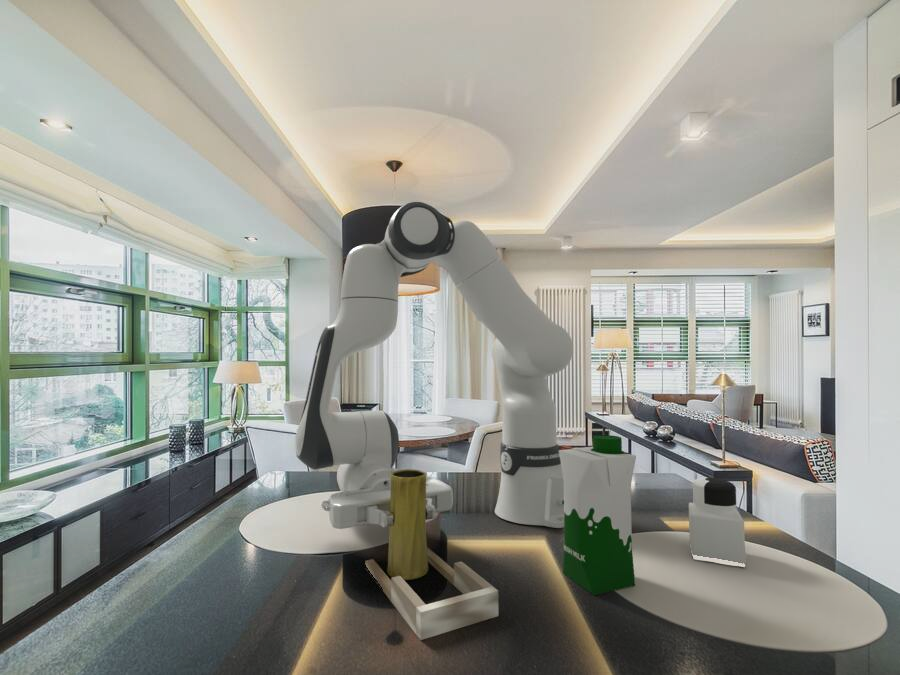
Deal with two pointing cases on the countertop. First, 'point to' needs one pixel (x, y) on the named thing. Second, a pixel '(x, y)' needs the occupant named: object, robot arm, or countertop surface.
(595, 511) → the milk carton
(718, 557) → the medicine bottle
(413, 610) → the frame
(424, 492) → the vase
